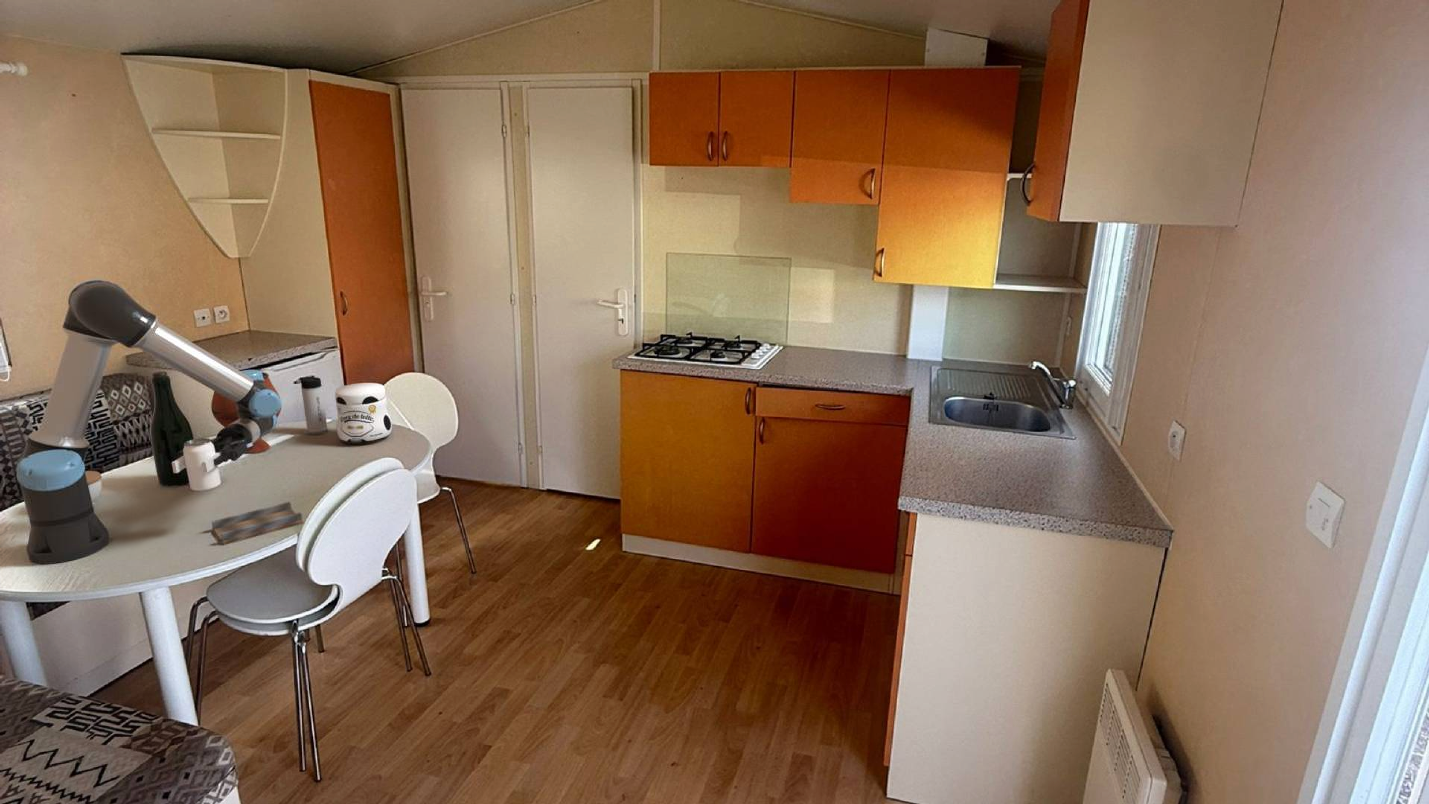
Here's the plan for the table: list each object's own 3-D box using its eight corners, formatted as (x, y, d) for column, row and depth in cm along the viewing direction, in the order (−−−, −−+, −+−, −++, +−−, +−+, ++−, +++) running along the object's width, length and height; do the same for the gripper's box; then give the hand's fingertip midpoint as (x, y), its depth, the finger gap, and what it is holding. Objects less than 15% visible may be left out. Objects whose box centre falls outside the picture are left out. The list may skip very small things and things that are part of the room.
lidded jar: (102, 508, 202) (95, 475, 200) (51, 516, 197) (43, 483, 195) (109, 494, 211) (102, 462, 209) (60, 501, 206) (52, 469, 203)
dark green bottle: (200, 471, 228) (180, 366, 219) (203, 482, 220) (182, 373, 211) (158, 478, 222) (136, 370, 213) (159, 490, 214) (136, 378, 205)
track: (223, 544, 184) (222, 535, 183) (212, 530, 191) (211, 520, 190) (303, 523, 196) (301, 514, 195) (290, 510, 203) (288, 501, 203)
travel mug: (308, 430, 266) (300, 375, 261) (329, 428, 268) (321, 374, 263) (305, 435, 261) (297, 380, 255) (326, 434, 263) (318, 379, 257)
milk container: (347, 451, 247) (340, 398, 242) (331, 437, 260) (325, 387, 254) (400, 440, 258) (395, 389, 253) (383, 427, 271) (377, 379, 266)
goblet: (214, 448, 247) (201, 374, 240) (279, 436, 260) (268, 366, 253) (226, 464, 234) (212, 387, 227) (294, 451, 246) (283, 377, 239)
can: (206, 492, 186) (197, 447, 183) (184, 490, 187) (175, 445, 184) (227, 482, 192) (219, 438, 189) (205, 480, 193) (197, 436, 190)
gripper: (277, 448, 207) (233, 481, 185) (203, 449, 205) (150, 482, 183) (273, 422, 205) (228, 452, 183) (198, 423, 203) (144, 453, 181)
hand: (189, 467), depth 183 cm, fingers closed on can, 6 cm apart
